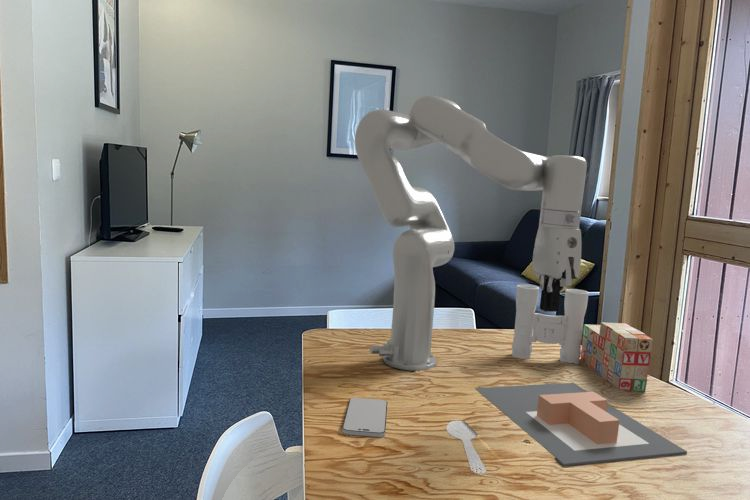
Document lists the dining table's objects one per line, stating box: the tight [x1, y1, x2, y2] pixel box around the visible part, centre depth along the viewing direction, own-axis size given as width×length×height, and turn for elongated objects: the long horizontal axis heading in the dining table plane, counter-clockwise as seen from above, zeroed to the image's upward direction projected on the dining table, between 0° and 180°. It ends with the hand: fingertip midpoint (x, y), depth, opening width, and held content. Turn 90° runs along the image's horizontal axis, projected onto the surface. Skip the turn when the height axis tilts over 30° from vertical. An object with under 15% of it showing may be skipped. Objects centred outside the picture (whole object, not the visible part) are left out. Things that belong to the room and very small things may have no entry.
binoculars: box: [511, 284, 590, 365], centre depth 138 cm, size 17×5×18 cm, turn 80°
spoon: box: [446, 419, 488, 475], centre depth 91 cm, size 5×18×1 cm, turn 2°
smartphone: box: [342, 397, 388, 438], centre depth 99 cm, size 7×1×15 cm
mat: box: [474, 382, 688, 467], centre depth 104 cm, size 24×31×1 cm
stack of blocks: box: [580, 321, 654, 393], centre depth 130 cm, size 21×6×12 cm, turn 2°
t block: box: [537, 391, 620, 444], centre depth 99 cm, size 12×12×4 cm
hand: (548, 310), depth 111 cm, fingers closed
